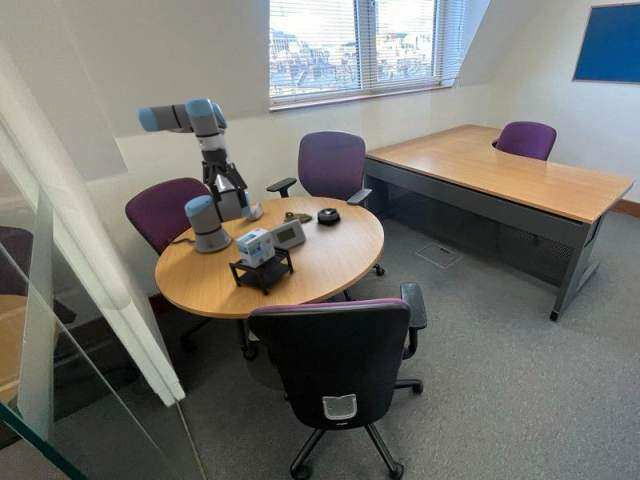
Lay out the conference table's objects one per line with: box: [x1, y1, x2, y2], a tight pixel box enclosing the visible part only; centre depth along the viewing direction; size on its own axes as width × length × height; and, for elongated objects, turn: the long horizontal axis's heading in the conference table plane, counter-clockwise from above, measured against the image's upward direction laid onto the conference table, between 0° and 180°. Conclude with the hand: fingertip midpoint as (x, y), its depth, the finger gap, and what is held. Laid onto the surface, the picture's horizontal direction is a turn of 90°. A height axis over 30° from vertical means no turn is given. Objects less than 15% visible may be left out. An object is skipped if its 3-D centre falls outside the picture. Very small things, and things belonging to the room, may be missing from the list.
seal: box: [284, 211, 313, 224], centre depth 166 cm, size 9×5×15 cm
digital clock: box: [268, 219, 307, 252], centre depth 142 cm, size 16×9×11 cm, turn 123°
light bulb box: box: [234, 227, 275, 268], centre depth 116 cm, size 11×7×11 cm, turn 150°
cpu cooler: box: [316, 207, 341, 227], centre depth 162 cm, size 10×6×10 cm
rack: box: [228, 246, 295, 297], centre depth 121 cm, size 15×16×11 cm
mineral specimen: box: [246, 202, 264, 222], centre depth 170 cm, size 13×7×6 cm, turn 175°
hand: (231, 204), depth 117 cm, fingers open, 13 cm apart
